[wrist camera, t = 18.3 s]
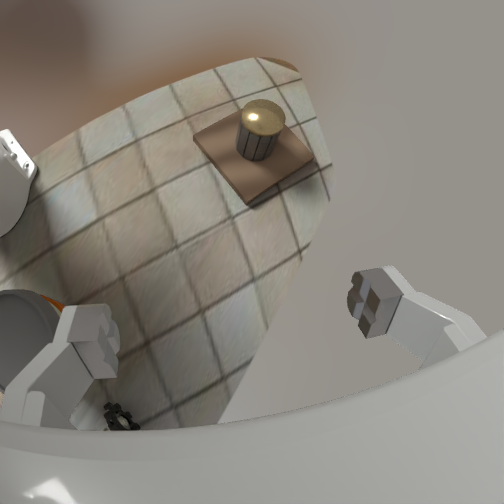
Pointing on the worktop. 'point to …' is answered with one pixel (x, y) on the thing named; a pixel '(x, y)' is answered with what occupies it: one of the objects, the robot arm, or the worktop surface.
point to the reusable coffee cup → (24, 330)
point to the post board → (243, 170)
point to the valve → (118, 423)
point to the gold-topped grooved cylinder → (259, 129)
